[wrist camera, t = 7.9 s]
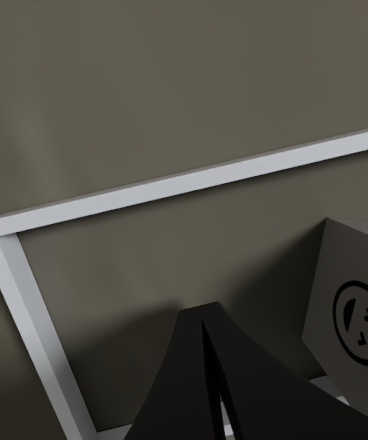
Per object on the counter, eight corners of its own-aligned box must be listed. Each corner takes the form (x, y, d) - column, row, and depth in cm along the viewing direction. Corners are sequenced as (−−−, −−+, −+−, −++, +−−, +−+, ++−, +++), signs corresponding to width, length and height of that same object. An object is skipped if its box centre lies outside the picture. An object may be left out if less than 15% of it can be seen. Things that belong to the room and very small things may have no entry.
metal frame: (401, 366, 12) (423, 386, 11) (88, 444, 12) (82, 471, 11) (398, 121, 9) (426, 118, 8) (-8, 216, 9) (-29, 224, 8)
